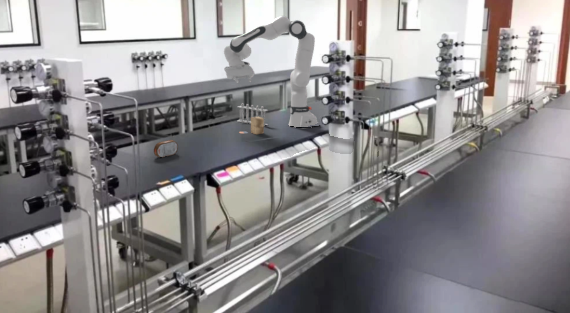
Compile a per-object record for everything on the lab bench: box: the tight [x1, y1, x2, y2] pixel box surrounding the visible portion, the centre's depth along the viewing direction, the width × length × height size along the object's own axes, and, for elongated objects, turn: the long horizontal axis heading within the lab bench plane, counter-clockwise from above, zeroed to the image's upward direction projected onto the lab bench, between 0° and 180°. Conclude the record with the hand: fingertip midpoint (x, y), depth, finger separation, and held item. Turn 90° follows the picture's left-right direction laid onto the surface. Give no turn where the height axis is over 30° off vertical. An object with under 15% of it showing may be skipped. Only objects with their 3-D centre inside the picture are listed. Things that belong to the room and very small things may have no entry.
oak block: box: [250, 116, 265, 135], centre depth 334 cm, size 6×6×10 cm
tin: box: [153, 139, 179, 158], centre depth 281 cm, size 15×3×8 cm, turn 141°
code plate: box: [238, 130, 249, 134], centre depth 335 cm, size 21×14×1 cm, turn 112°
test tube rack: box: [236, 103, 269, 127], centre depth 366 cm, size 25×4×13 cm, turn 55°
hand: (244, 82), depth 344 cm, fingers open, 8 cm apart
